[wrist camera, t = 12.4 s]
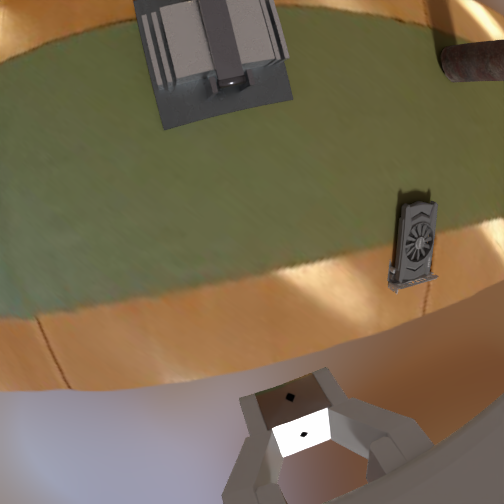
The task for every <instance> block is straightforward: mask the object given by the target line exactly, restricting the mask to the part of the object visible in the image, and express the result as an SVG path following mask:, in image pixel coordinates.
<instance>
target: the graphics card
mask: <svg viewBox="0 0 504 504" xmlns="http://www.w3.org/2000/svg"><path fill="white" fill-rule="evenodd" d="M437 207H438V204H437V203H436V202H434V201H431V202H430V204H429V203H425V202H421V201H417V202H415V203H413V204H410V205H409V204H406V203H405V204H404V205H403V206H402V211H401V217H400V218H399V228H398V240H397V250H396V261H395V268H394V267H392V265H391V261H390V264H389V272H388V280H387V281H388V282H389V284H388V288H389V287H390V289H391V290H392V291H393V292H394V291H395V293H396V294H397V292H398V289H403V288H406V287H410V286H413V285H417V284H420V283H424V282H427V281H430V280H434V279H437V277H439V276H437V275H432V274H434V273H433V272H430V266H431V259H432V252H433V245H434V237H435V228H436V218H437ZM420 212H423V213H425V214H427V215H425V214H423V213H420ZM428 235H429V237H428ZM427 242H428V243H427ZM414 258H416V259H414ZM412 259H413V260H412ZM395 273H396V274H395ZM422 278H423V279H426V280H423V279H422ZM389 279H390V280H389ZM419 279H420V280H423V281H420V280H419ZM415 280H417V281H419V282H416V281H415ZM411 281H414V283H415V284H414V283H412V282H411ZM408 283H411V284H412V285H411V284H408ZM401 284H402V285H401ZM403 284H404V286H403ZM405 285H406V286H405ZM392 287H393V288H394V289H392Z"/></svg>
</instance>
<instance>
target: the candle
mask: <svg viewBox="0 0 504 504" xmlns="http://www.w3.org/2000/svg"><path fill="white" fill-rule="evenodd" d="M441 62H442V68H443V70H444V72H445V75H446V76H447V77H448V79H450V80H451V82H471V81H504V40H495V41H484V42H476V43H467V44H460V45H453V46H448V47H445V48H444V49H443V51H442V53H441Z"/></svg>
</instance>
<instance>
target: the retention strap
mask: <svg viewBox="0 0 504 504" xmlns="http://www.w3.org/2000/svg"><path fill="white" fill-rule="evenodd" d="M198 1H199V5H200V10H201V14H202V18H203V22H204V26H205V30H206V34H207V38H208V42H209V47H210V51H211V55H212V59H213V63H214V67H215V71H216V76H217V85H218V88H219V89H222V88H227V87H231V86H236V85H241V84H246V83H247V80H246V76H245V74H244V72H243V68H242V64H241V60H240V55H239V51H238V47H237V43H236V39H235V35H234V31H233V26H232V22H231V18H230V14H229V10H228V6H227V2H226V0H198Z"/></svg>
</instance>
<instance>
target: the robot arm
mask: <svg viewBox="0 0 504 504" xmlns="http://www.w3.org/2000/svg"><path fill="white" fill-rule="evenodd" d="M255 396H256V397H255ZM256 399H257V400H256ZM239 400H240V405H241V408H242V412H243V415H244V418H245V421H246V424H247V428H248V431H249V434H250V437H247V438H246V439H245V442H244V444H243V446H242V449H241V451H240V454H239V456H238V459H237V461H236V463H235V466H234V468H233V470H232V473H231V475H230V477H229V479H228V482H227V484H226V486H225V489H224V491H223V493H222V499H223V504H288V503H287V501H286V499H285V497H284V495H283V493H282V491H281V489H280V487H279V485H278V484H277V481H278V478H279V474H280V470H281V466H282V463H283V457H285V456H287V455H290V454H292V453H295V452H298V451H300V450H303V449H305V448H308V447H310V446H313V445H316V444H318V443H321V442H324V441H326V440H329V439H332V440H333V441H335V442H337V443H339V444H340V445H342V446H344V447H346V448H348V449H350V450H352V451H353V452H355V453H357V454H359V455H361V456H363V457H365V458H367V459H368V466H367V474H366V479H367V481H368V484H366V485H364V486H362V487H360V488H357V489H355V490H353V491H351V492H349V493H347V494H344V495H342V496H339V497H337V498H335V499H332V500H330V501H328V502H325V503H322V504H504V393H503V394H502V395H501V396H500V397H498V398H497V399H496V400H495V401H494V402H493V403H492V404H490V405H489V406H488V407H487V408H485V409H484V410H483V411H482V412H481V413H479V414H478V415H477V416H475V417H474V418H473V419H472V420H470V421H469V422H468V423H466V424H465V425H464V426H463V427H461V428H460V429H458V430H457V431H456V432H454V433H453V434H451V435H450V436H448V437H447V438H446V439H444V440H442V441H441V442H440V443H438V444H437V445H434V444H433V443H432V442H431V440H430V439H429V438H428V437H427V435H426V434H425V433H424V432H423V430H422V429H421V428H420V427H419V425H418V424H417V423H416V421H415V420H414V419H412V418H409V417H406V416H403V415H400V414H397V413H394V412H391V411H388V410H386V409H383V408H380V407H377V406H374V405H372V404H369V403H366V402H363V401H361V400H358V399H355V398H351V399H348V398H347V396H346V395H345V393H344V392H343V390H342V389H341V387H340V386H339V385H338V383H337V381H336V380H335V378H334V377H333V375H332V374H331V372H330V371H329V369H327V368H326V367H325V368H322V369H320V370H317V371H315V372H313V373H309V374H307V375H304V376H302V377H299V378H297V379H294V380H292V381H289V382H287V383H284V384H282V385H279V386H276V387H273V388H270V389H267V390H264V391H260V392H257V393H255V395H254V394H251V395H248V396H245V397H241V398H239ZM257 402H258V403H257Z"/></svg>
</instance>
